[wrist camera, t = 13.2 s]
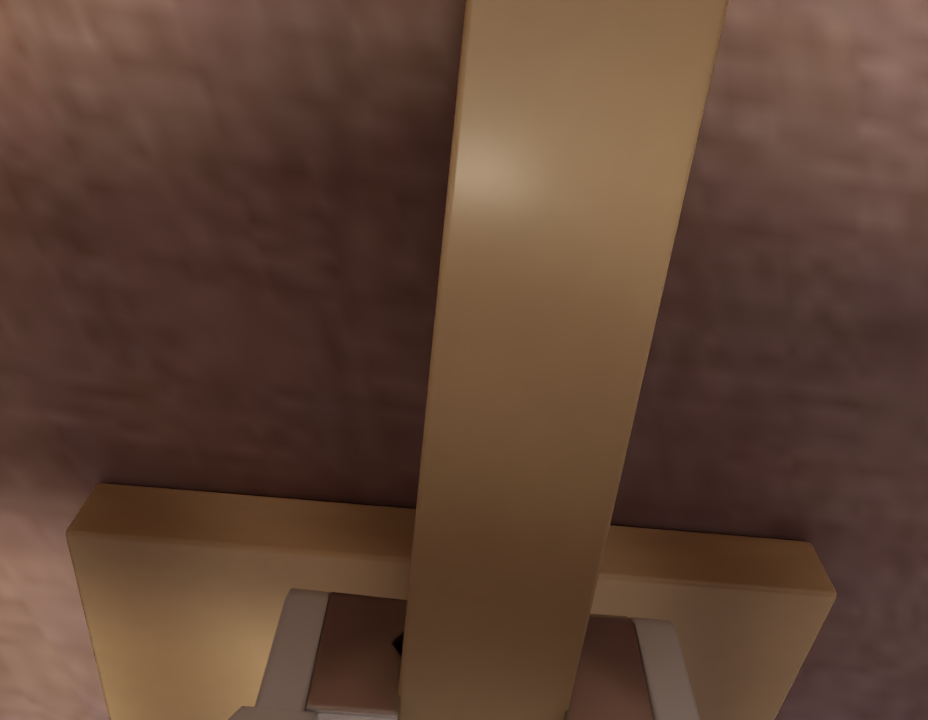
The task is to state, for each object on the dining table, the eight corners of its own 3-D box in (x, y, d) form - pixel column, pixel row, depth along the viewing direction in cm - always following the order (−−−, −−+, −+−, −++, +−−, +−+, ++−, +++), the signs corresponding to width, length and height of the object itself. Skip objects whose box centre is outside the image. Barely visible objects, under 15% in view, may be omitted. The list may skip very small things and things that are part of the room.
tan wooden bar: (319, -113, 8) (228, -194, 5) (803, -54, 8) (1000, -95, 5) (292, 959, 15) (250, 1183, 12) (539, 976, 15) (556, 1201, 13)
